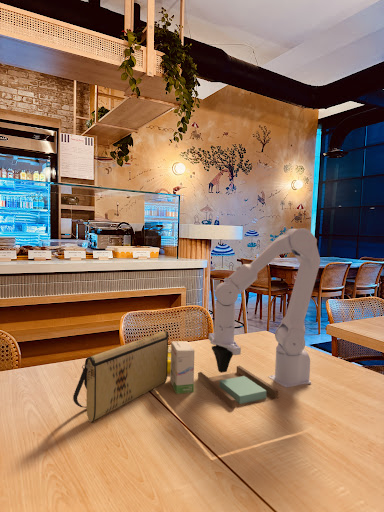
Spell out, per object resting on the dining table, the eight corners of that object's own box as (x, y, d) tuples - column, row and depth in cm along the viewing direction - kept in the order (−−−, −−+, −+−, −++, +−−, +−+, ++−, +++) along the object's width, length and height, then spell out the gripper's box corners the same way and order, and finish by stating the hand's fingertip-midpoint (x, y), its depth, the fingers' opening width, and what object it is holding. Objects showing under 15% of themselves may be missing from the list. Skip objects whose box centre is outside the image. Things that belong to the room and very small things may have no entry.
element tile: (142, 355, 122) (142, 342, 122) (185, 358, 120) (185, 345, 120) (128, 372, 107) (128, 357, 107) (177, 376, 105) (177, 361, 105)
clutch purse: (152, 376, 104) (153, 325, 103) (171, 382, 100) (172, 330, 99) (65, 419, 80) (65, 353, 79) (85, 429, 76) (86, 361, 75)
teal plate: (244, 382, 100) (244, 375, 100) (266, 398, 91) (266, 390, 91) (219, 387, 96) (219, 380, 96) (239, 404, 87) (240, 396, 87)
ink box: (194, 393, 94) (195, 350, 93) (175, 395, 92) (176, 351, 91) (186, 380, 102) (187, 340, 101) (169, 381, 101) (170, 340, 100)
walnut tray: (239, 373, 108) (239, 365, 107) (278, 399, 91) (278, 390, 91) (197, 381, 101) (198, 372, 101) (231, 410, 85) (231, 400, 85)
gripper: (200, 320, 106) (198, 364, 107) (225, 333, 93) (223, 383, 94) (220, 318, 109) (219, 361, 110) (248, 330, 96) (245, 379, 97)
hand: (222, 371), depth 103 cm, fingers closed
